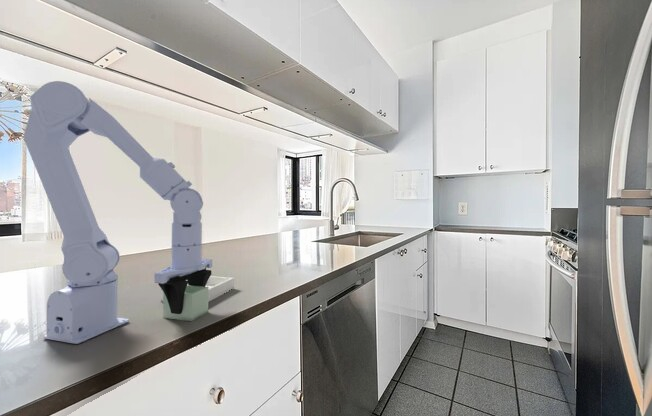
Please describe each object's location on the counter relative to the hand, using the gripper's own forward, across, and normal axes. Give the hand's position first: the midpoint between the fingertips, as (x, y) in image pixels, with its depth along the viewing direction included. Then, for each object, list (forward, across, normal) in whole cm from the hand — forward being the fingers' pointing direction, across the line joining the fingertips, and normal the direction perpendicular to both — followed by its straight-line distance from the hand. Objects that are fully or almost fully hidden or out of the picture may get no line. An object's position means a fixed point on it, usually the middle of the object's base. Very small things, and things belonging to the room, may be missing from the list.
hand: (186, 308), depth 59 cm
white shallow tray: (+1, +12, +6) cm, 13 cm away
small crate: (+1, 0, 0) cm, 1 cm away
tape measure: (+2, +23, +19) cm, 30 cm away
